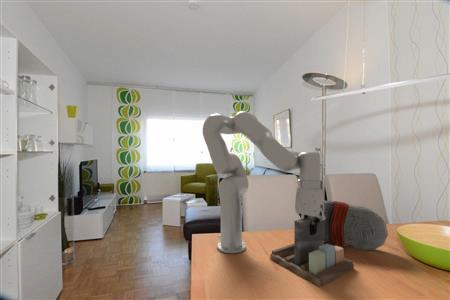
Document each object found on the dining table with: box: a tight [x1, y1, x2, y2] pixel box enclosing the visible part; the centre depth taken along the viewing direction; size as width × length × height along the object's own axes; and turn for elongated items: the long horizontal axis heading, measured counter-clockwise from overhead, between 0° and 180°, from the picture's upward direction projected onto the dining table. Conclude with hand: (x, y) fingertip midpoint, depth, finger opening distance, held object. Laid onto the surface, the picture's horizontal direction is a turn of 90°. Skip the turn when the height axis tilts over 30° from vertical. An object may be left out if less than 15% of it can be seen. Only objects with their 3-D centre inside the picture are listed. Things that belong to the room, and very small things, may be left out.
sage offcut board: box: [309, 250, 326, 276], centre depth 77 cm, size 3×5×8 cm, turn 122°
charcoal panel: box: [293, 215, 325, 267], centre depth 86 cm, size 2×14×16 cm, turn 122°
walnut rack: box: [269, 243, 355, 287], centre depth 86 cm, size 22×20×3 cm
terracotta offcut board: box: [335, 246, 345, 265], centre depth 83 cm, size 3×5×7 cm, turn 122°
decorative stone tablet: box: [324, 199, 389, 251], centre depth 102 cm, size 19×6×30 cm
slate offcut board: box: [319, 243, 335, 270], centre depth 80 cm, size 3×5×9 cm, turn 122°
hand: (309, 232), depth 86 cm, fingers closed on charcoal panel, 2 cm apart
